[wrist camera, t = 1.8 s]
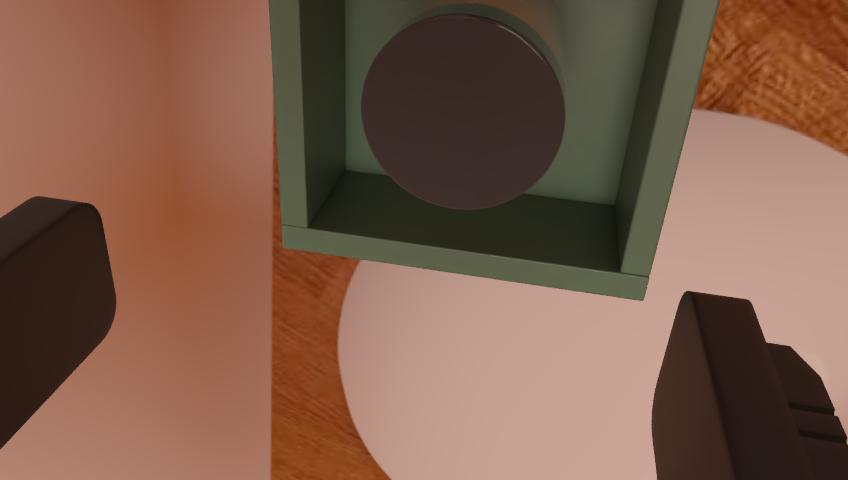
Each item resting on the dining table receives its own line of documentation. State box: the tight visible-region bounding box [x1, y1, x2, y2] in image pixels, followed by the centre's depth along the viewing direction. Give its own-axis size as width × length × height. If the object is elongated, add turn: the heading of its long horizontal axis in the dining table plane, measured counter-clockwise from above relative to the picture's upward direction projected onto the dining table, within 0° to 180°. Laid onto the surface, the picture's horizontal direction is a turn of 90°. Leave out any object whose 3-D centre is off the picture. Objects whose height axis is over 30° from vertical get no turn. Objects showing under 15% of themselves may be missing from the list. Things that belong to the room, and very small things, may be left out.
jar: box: [361, 0, 566, 210], centre depth 23 cm, size 6×6×8 cm
